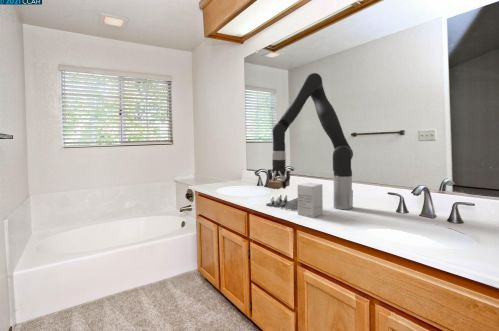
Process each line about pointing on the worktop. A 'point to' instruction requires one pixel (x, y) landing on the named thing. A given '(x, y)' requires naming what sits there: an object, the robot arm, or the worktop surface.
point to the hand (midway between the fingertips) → (278, 187)
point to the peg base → (278, 201)
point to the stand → (292, 204)
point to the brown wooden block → (277, 184)
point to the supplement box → (310, 199)
